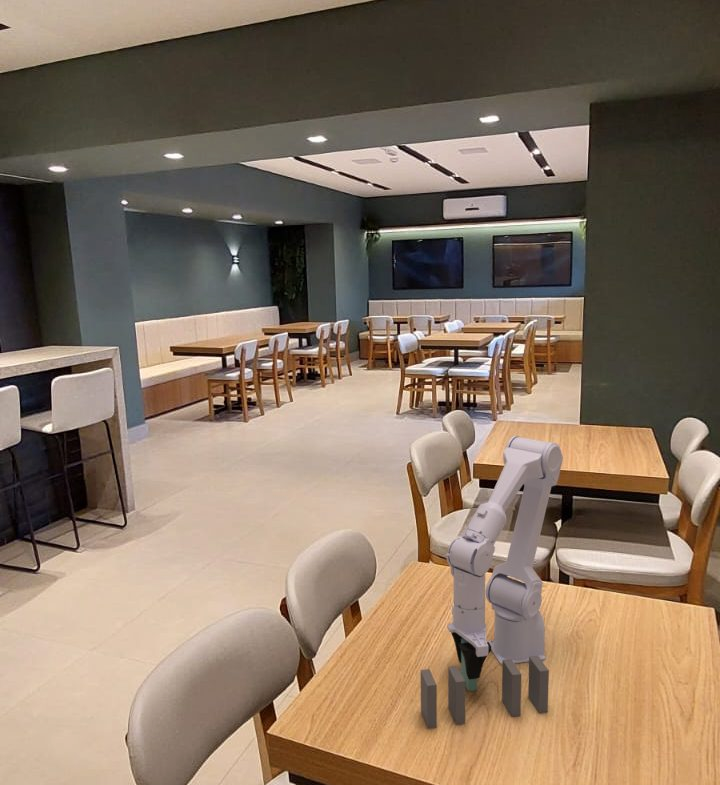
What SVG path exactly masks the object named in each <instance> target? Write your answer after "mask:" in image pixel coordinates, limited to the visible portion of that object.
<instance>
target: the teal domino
mask: <svg viewBox="0 0 720 785" xmlns="http://www.w3.org/2000/svg"><path fill="white" fill-rule="evenodd" d="M467 642H468V641H466V640H465V639H464V638H461V643H467ZM460 672H461V674H462V676H463V678H464V680H465V688H466V689H467V691H468V692H473V691H478V678H477V679H470V680H469V679H468V677H467V674H466V668H465V661H464V656H463V653H462V651H461V663H460Z"/></svg>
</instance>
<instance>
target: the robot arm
mask: <svg viewBox="0 0 720 785" xmlns="http://www.w3.org/2000/svg"><path fill="white" fill-rule="evenodd" d="M502 452H503V455H502V456H503V458H502V459H503V464H504V465H503V469H502V470H501V473H500V475H499V477H498V479H497V482H496V484H495V486H494V488H493V490H492V492H491V495H490V497H489V499H488V501H487V502H484V503H481V504H479V505H478V506H477V508H476V510H475V511H474V514H473V516H472V518H471V519H470V521H469V523H468V525H467V526H466V528H465V530H464V531H463V533H462V535H461V536H458V537H456V538H455V539H453V540H452V541H451V543H450V544H449V547H448V549H447V554H445V555H446V561H447V564H448V565H449V568H450V575H451V576H452V577H453V604H452V605H451V615H452V622H449V623H447V624H446V627H447V629H448V630H447V631H448V632H450V633H451V635H452V638H453V642H454V646H455V650H456V655H457V659H458V662H459V663H460V664H461V651H462V653H463V656H464V661H465V668H466V674H467V677H468V679H469V680H470V679H477V680H478V679H480V676H481V673H482V670H483V666H484V664H485V662H486V659H487V657H488V656H489V655H490V653H493V655H494V656H495V658H496V660H497V661H498V662H499V664H500V665H501V666H503V660H506V659H512V661H513V662H514V664H515V665H516V664H524V663H529V657H530V656H538V657H539V658H540V659H541V661H545V660H546V659H547V658H546V656H545V655H546V654H545V633H546V630H545V629H546V627H545V621H544V617H543V614H542V613H541V610H540V609H541V606H542V591H543V590H542V589H543V583H544V582H543V580H542V579H541V578H540V576H539V575H538V573H537V572H536V571H535V569H534V567H533V566H534V561H535V557H536V553H537V550H538V545H539V541H540V536H541V532H542V528H543V523H544V519H545V516H546V512H547V511H546V510H547V507H548V502H549V500H550V499H549V498H550V495H551V490H552V487H555V486H557V484H558V480H559V477H560V474H561V468H562V464H563V459H564V457H563V454H562V449H561V448H560V445H559V444H558V443H557V442H554V441H553V442H548V441H543V440H538V439H532V438H527V437H521V436H520V435H513V436H511V438H510V439H509V440H507V442H506V445H505V448H504V450H503V451H502ZM523 486H524V487H523ZM522 487H523V491H522V495H521V500H520V504H519V509H518V513H517V515H516V516H517V517H516V521H515V525H514V528H513V532H512V537H511V541H510V545H509V549H508V553H507V558H506V560H505V561H503V562H502V563H500V564H496V566H494V567H493V570H492V573H491V575H490V577H489V579H488V581H487V583H486V573H488V571H489V570H490V568H491V566H492V564H493V559H494V553H495V549H496V547H495V544H496V542H497V540H498V539H499V536H500V535H501V533H502V531H503V528H504V527H505V525H506V523H507V520H508V519H507V516H506V511H507V509H508V508H509V506H510V505H511V503H512V502H513V500H514V499H515V497H516V496H517V494H518V493H519V491H520V490H521V488H522ZM486 600H487V602H488V603H490V604H491V610H493V611H494V629H493V630H494V633H493V636H494V637H493V638H494V639H493V640H488V641H487V625H486ZM461 638H464V639H465V640H466V641H468V642H467V643H461Z"/></svg>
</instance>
